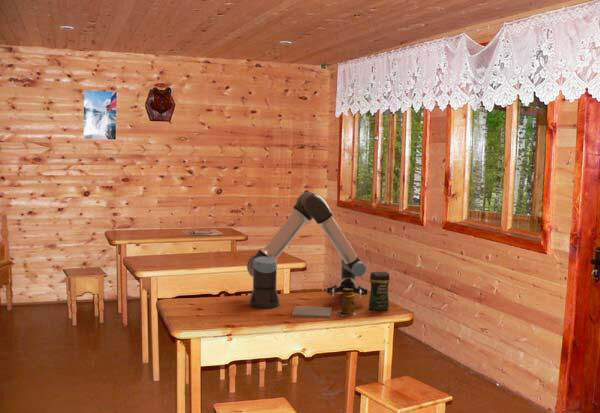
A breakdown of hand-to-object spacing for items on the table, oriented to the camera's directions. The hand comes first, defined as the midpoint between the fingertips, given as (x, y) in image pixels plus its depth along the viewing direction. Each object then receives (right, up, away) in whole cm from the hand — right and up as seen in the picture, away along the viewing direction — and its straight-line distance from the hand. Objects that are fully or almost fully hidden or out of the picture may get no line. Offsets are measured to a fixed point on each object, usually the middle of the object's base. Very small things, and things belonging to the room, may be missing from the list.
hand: (346, 294), depth 320 cm
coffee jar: (+16, -7, +1) cm, 18 cm away
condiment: (-1, -8, -9) cm, 12 cm away
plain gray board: (-17, -8, -8) cm, 21 cm away
